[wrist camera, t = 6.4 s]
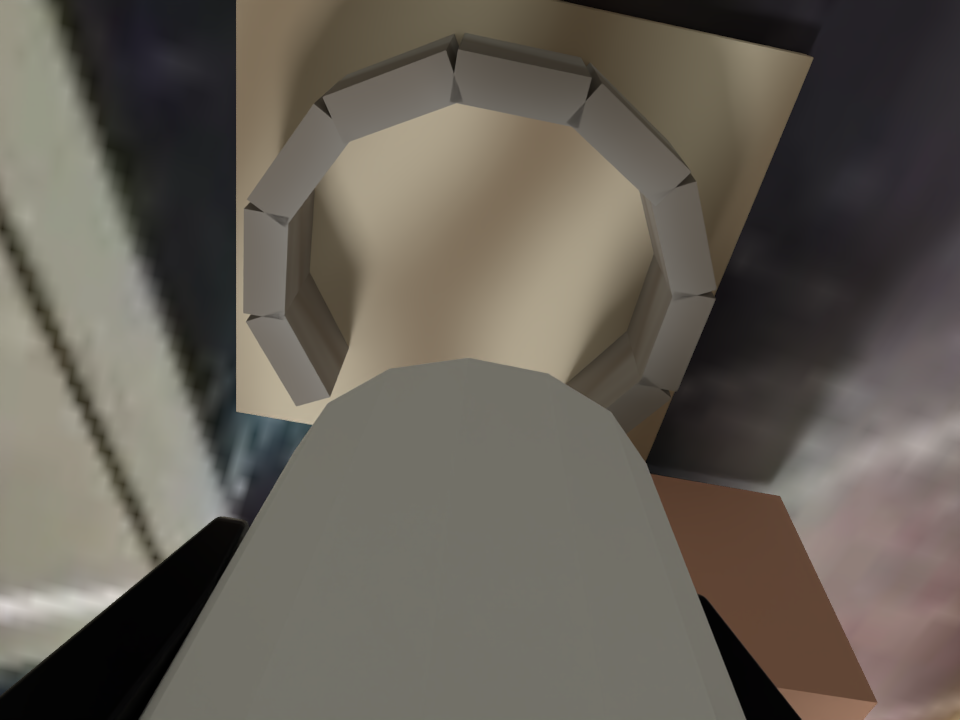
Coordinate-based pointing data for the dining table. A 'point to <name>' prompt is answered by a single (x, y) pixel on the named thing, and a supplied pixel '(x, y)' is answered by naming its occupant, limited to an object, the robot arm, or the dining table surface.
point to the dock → (489, 193)
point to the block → (767, 594)
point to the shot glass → (455, 570)
